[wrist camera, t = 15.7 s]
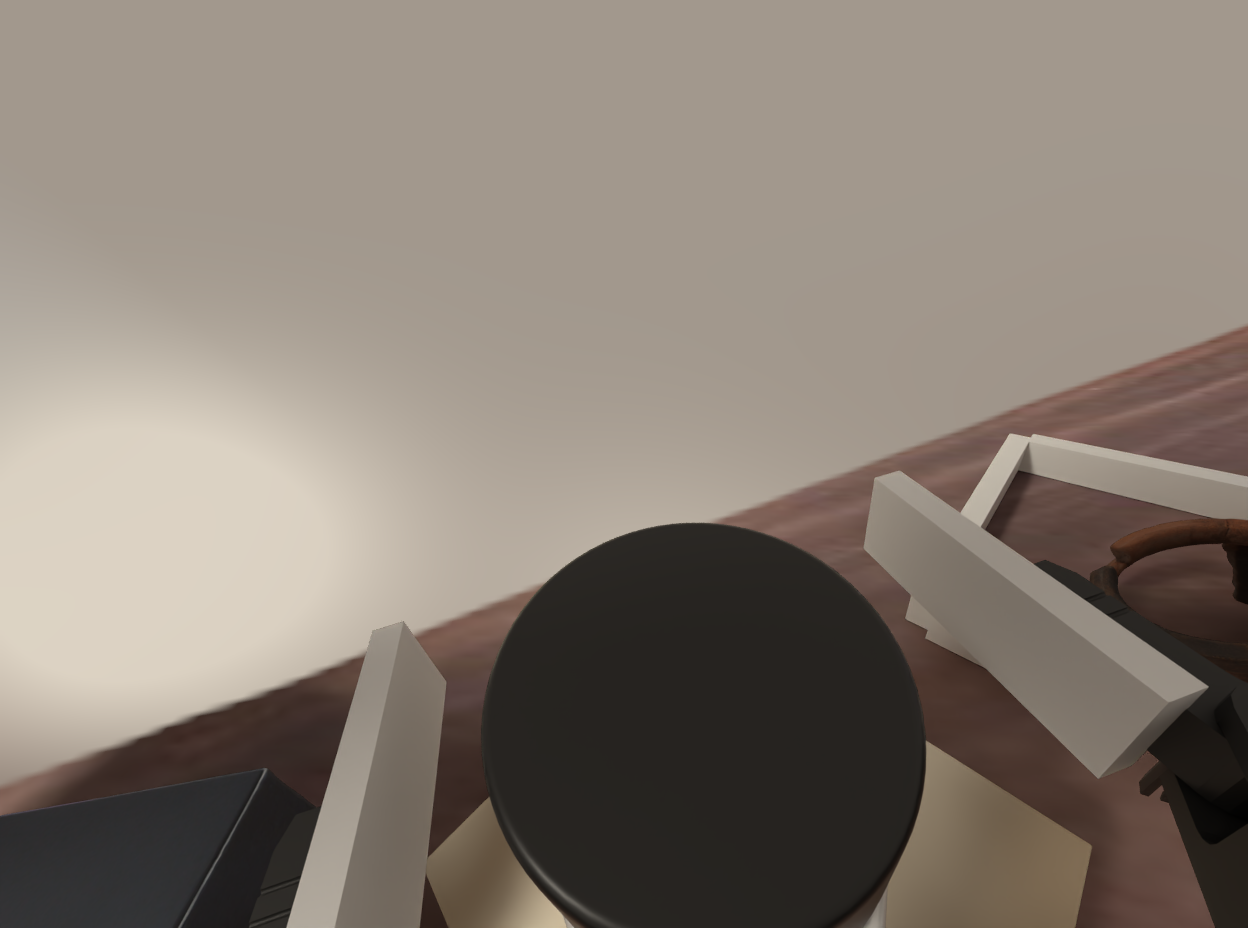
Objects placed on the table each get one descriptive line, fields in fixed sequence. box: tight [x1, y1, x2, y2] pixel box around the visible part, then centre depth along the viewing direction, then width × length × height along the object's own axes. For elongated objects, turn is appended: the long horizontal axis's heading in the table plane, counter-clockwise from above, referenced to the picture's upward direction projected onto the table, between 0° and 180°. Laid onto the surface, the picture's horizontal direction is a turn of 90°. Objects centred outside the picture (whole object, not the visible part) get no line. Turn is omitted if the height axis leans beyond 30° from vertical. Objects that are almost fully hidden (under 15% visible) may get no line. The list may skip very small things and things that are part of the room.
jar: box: [481, 523, 926, 928], centre depth 12 cm, size 9×8×12 cm
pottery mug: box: [1090, 518, 1248, 683], centre depth 20 cm, size 12×10×8 cm
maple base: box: [426, 741, 1092, 928], centre depth 16 cm, size 16×16×4 cm
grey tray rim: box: [905, 434, 1248, 668], centre depth 23 cm, size 17×19×2 cm
